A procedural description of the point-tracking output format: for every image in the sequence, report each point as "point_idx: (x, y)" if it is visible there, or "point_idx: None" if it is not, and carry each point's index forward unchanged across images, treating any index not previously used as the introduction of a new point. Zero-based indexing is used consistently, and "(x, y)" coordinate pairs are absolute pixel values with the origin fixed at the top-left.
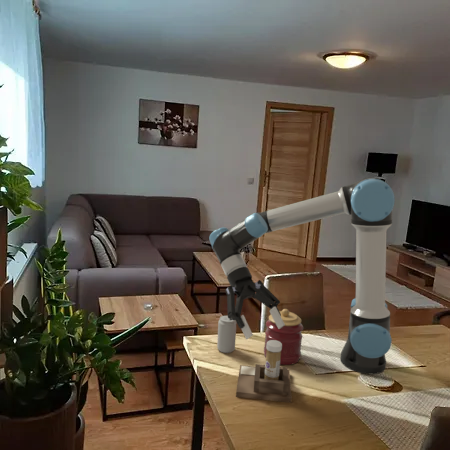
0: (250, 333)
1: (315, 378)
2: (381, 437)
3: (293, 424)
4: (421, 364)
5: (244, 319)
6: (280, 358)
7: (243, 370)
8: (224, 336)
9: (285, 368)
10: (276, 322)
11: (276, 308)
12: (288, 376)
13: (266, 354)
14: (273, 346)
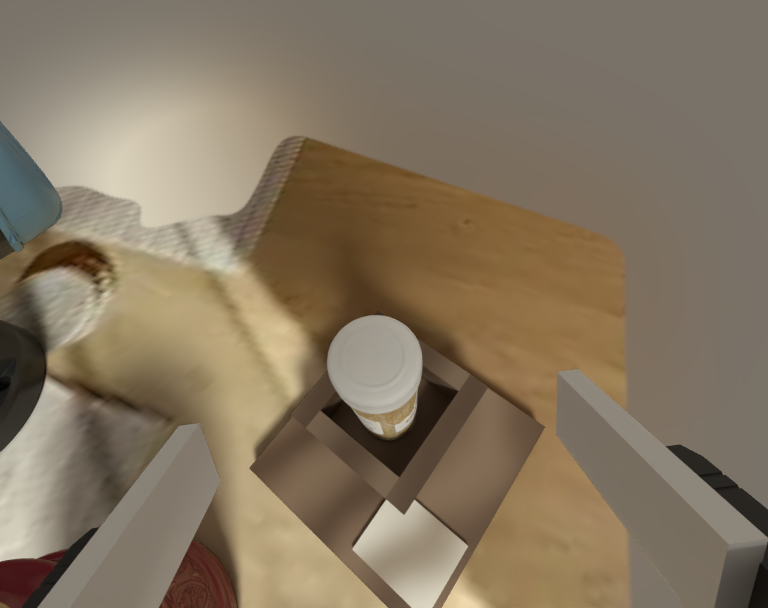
0: (584, 378)
1: (198, 396)
2: (293, 152)
3: (440, 246)
4: None
5: (686, 482)
6: (210, 569)
7: (439, 568)
8: None
9: (305, 410)
10: (190, 519)
11: (45, 600)
12: (290, 427)
13: (411, 399)
14: (405, 327)
